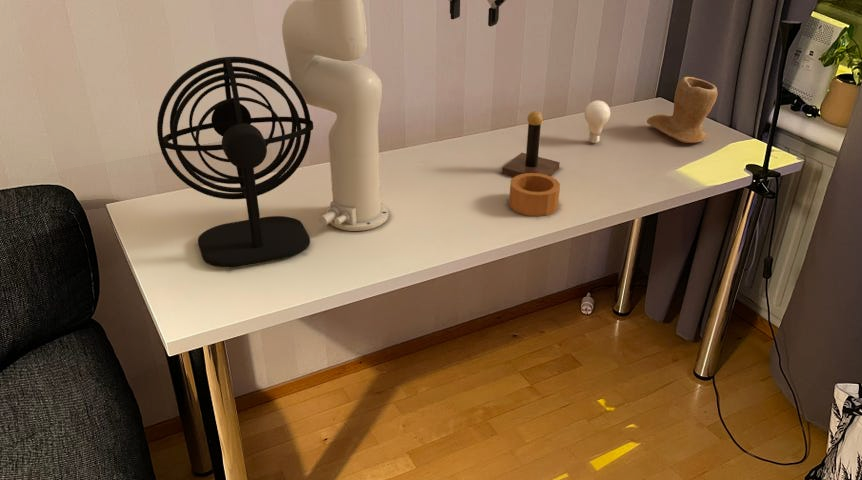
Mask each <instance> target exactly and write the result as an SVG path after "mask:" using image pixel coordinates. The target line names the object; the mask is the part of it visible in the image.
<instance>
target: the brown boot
mask: <svg viewBox="0 0 862 480" xmlns="http://www.w3.org/2000/svg"><path fill="white" fill-rule="evenodd" d="M717 97H718V88H717V86H716V85H715V84H713V83H711V82H709V81H707V80H704V79H702V78H697V77H695V76H694V77H693V76H684V77H682V78H681V79H680V80H679V81H678V83H677V85H676V89H675V92H674V97H673V98H674V100H673V112H672V115H670V114H665V113H664V114H663V113H662V114H661V113H660V114H655V115H653V116H651V117H650V116H649V117H648V118H647V119H646V123H647V124H648V125H650V126H651V127H653V128H655V129H656V130H658V131H660V132H661V133H663V134H664V135H667V136H669V137H670V138H672V139H675V140H677V141H679V142H682V143H685V144H695V143H701V142H704V141H705V140H706V139H707V138H708V136H707V134H706V133H705V132H704V131H703V129H702V125H703V123H704V121H705V119H706V118H707V116H708V115H709V114H710V112H711V110H712V108H713V107H714V105H715V103H716V101H717Z"/></svg>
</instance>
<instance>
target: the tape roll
mask: <svg viewBox="0 0 862 480" xmlns="http://www.w3.org/2000/svg"><path fill="white" fill-rule="evenodd" d="M509 184H510V186H509V199H508V200H509V201H508V205H509V207H510V208H511V210H513V211H515V212H516V213H517V214H521V215H524V216H529V217H543V216H548V215H551V214H554V213H555V212H556V211H557V210H558V208H559V202H560V201H559V200H560V191H561V183H560V181H559V180H558V179H557V178H554V177H553V176H552V175H551V176H548V175H544V174H538V173H526V174H521V175H517V176H515V177H512V178H511V180H510V183H509Z"/></svg>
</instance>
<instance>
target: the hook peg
mask: <svg viewBox="0 0 862 480" xmlns="http://www.w3.org/2000/svg"><path fill="white" fill-rule="evenodd" d="M543 121H544V119H543V115H542V113H541V112H539V111H537V110H533V111H530V112H529V114H528V115H527V123H528V125H527V136H526V137H527V138H526V150H525V153H526V162H525V165H526V166H528V167H536V166H537V164H538V157H539V150H540V139H541V128H542V127H541V126H542V123H543Z"/></svg>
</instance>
